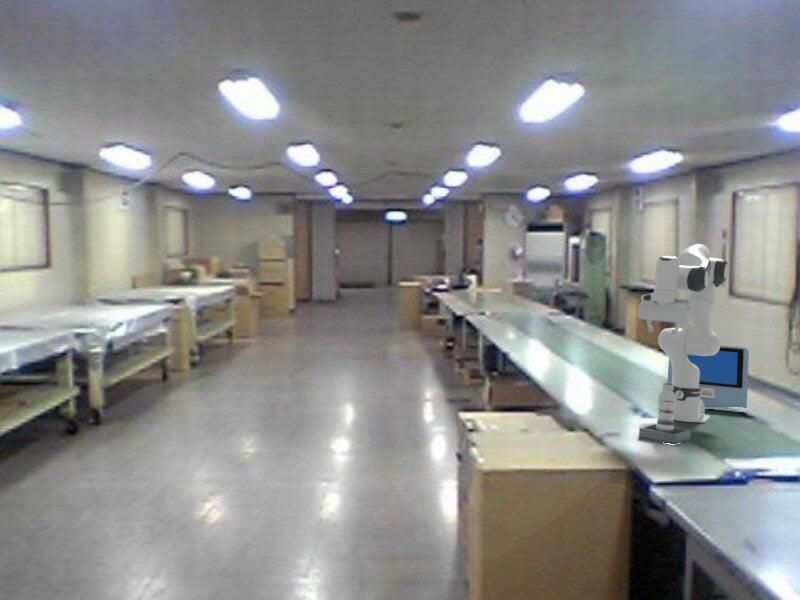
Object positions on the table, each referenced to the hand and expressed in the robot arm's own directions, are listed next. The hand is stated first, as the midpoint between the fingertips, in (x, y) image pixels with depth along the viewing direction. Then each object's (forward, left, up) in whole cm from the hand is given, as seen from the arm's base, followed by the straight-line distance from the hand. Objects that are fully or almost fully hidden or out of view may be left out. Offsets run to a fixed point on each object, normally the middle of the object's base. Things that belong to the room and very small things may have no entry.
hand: (662, 333), depth 309 cm
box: (+10, +8, -39) cm, 41 cm away
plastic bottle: (+9, +8, -38) cm, 40 cm away
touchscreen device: (-79, -10, -40) cm, 89 cm away
